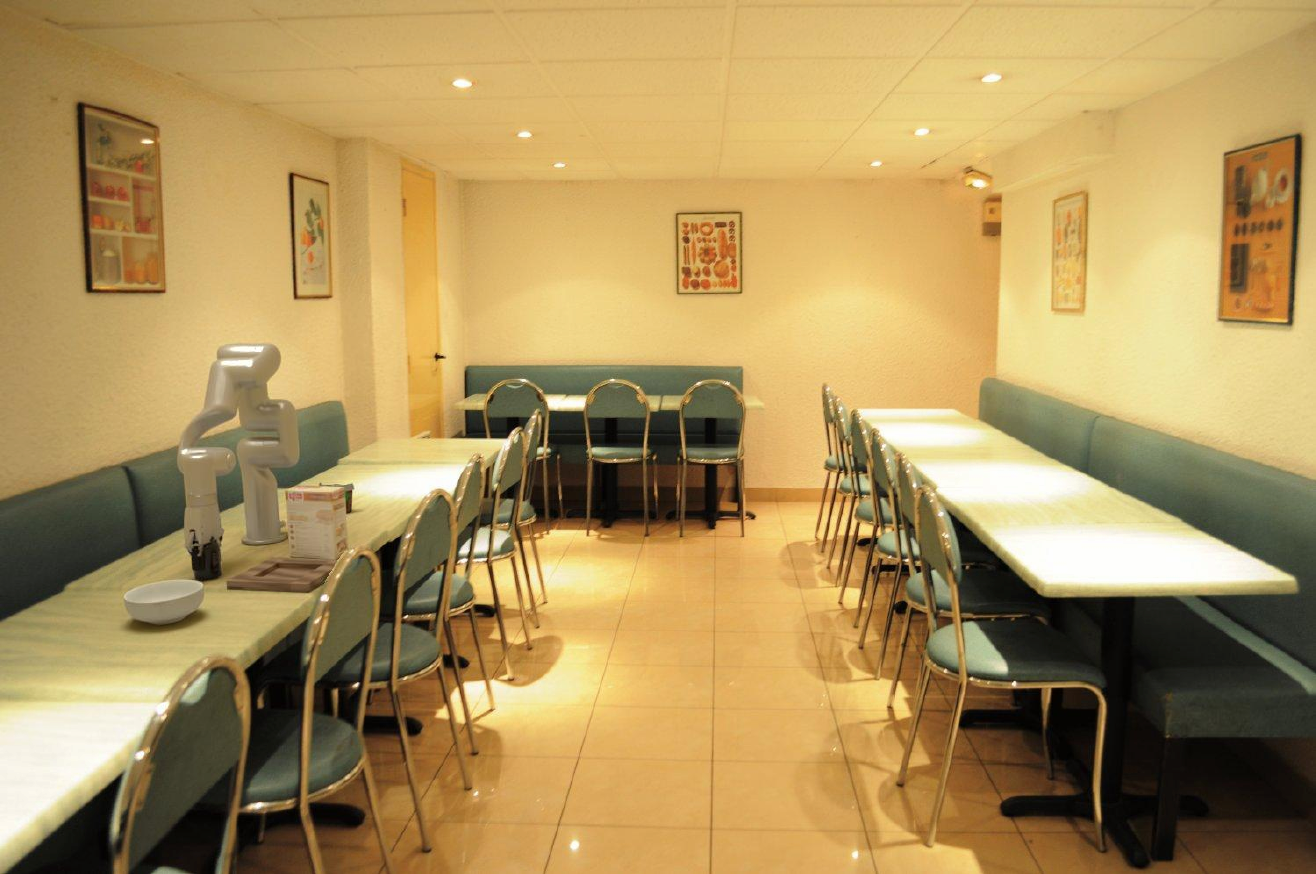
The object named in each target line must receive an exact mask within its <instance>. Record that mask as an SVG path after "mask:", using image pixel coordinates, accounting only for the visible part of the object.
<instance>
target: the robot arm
mask: <svg viewBox="0 0 1316 874" xmlns="http://www.w3.org/2000/svg"><path fill="white" fill-rule="evenodd" d="M216 359H217V360H215V361H213V362H212V364H211V366H210V369H209V374H208V380H207V385H206V391H205V398H204V404H203V408H202V409H201V411H200V412H199V413H198V414H197V415H195V416H194V417H193V418H192V419H191V421H189V423H188V424H187V425H186V427H184V428H185V429H184V430H183V431H182V434H181V436H180V438H179V443H178V450H177V456H176V457H177V458H176V464H177V468H178V470H179V471H180V473H182V474H183V481H184V493H185V504H186V505H185V506H186V507H185V508H184V516H183V517H184V518H183V519H184V520H183V522H184V523H183V524H184V526H183V528H184V529H183V531H184V544H183V545H184V548H185V549H186V550H187V552H188V553H189V556H190V559H191V569H192V571H193V572H194V571H203V570H205V566H204V555H202V551H203V546H204V545H205V544H207V543H209V542H211V541H209V540H210V539H211V536H212V535H214V537H215V539H214V541H216V542H217V543H218V544H219V547H220V557H221V558H222V552H221V551H222V550H221V548H222V541H223V536H224V533H225V529H224V528H223V526H222V519H221V512H220V508H219V501H218V489H217V478H216V477H221V476H223V477H224V476H226V475H229V474H230V473H232V472H233V470H234V469H235V467H236V465H237V461H238V463H239V468H240V471H241V472H240V473H241V478H242V481H241V482H242V491H243V493H242V495H243V506H244V516H245V517H244V518H245V528H246V529H245V531H246V533H245V535H243V536H242V537H240V538H241V540H240V541H241V543H242V544H245V545H249V546H250V545H251V546H257V545H258V546H259V545H261V546H262V545H269V544H270V545H271V544H276V543H280V542H282V541H284V540H286V538H287V533H285V532H283V531H282V528H284V527H285V526H286V525H287V522H286V521H285V520H280V506H279V495H278V494H279V493H278V482H277V479H276V476H275V474H273V472H272V471H271V468H272V469H273V468H285V469H287V468H292V467H295V466H296V465H297V464H298V463H299V460H300V454H301V453H300V440H299V426H298V417H297V410H296V408H295V405H294V404H293V403H292V402H291V401H289V400H288V399H285V398H284V399H283V398H281V399H279V398H277V399H272V398H271V399H270V398H269V393H268V392H269V391H268V382H269V381H270V379H272V377H273V376H274V375H275V374H276V373H277V372H278V370H279V368H280V366H281V361H282V354H281V352H280V349H279V348H278V347H277V345H274V344H272V343H242V342H241V343H228V344H224V345H221V346H219V347H218V348H217V351H216ZM237 414H238V419H239V424H240V426H241V428H242V429H243V430H244V431H247V432H256V433H259V432H260V433H261V432H263V433H264V432H267V433H268V432H272V433H273V432H276V433H277V435H249V436H246V437H243V438H241V439H240V440H239V441H238V443H237V446H236V454H235V453H234V451H233V450H232V449H230V448H228V447H222V446H220V447H212V446H211V447H208V446H204V447H202V446H201V447H197V446H198V443H199V441H200V438H202V436H203V435H205V434H206V433H207V432H208V431H210V430H212V429H213V428H216V427H218V426H220V425H222V424H224V423H227V422H229V421H231V420H233V419H234V418H235V417H236V416H237ZM236 457H237V458H236ZM196 542H199V543H198V544H196ZM195 547H199V548H198V550H197V549H196V548H195Z"/></svg>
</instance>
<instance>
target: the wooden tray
mask: <svg viewBox="0 0 1316 874" xmlns="http://www.w3.org/2000/svg"><path fill="white" fill-rule="evenodd" d="M337 560H338V559H336V560H330V559H317V558H303V557H270V558H268V559H266V560H264V561H262V562H260V563H259V564H256V565H254V566H253V567H251V568H249V569H246V570H245V571H243V572H240V573H239V574H238V575H235V576H233V577H232V578H229V579H228V580H226V581H225V583H226V590H234V591H235V590H237V591H240V590H241V591H261V592H278V593H279V592H280V593H281V592H283V593H285V592H286V593H287V592H288V593H305V594H307V593H310V592H312V591H313V590H315V589H316V588H318V587H320V586H322V585H323V584H324V581H325V580H326V579H327V577H328V576H329V573H330V572H331V571H332V569H333V568H334V566H335V564H336V563H337Z"/></svg>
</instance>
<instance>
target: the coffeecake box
mask: <svg viewBox="0 0 1316 874" xmlns="http://www.w3.org/2000/svg"><path fill="white" fill-rule="evenodd" d="M284 493H285V504H286V505H285V508H286V520H287V522H286V524H287V536H288V548H289V550H288V551H289V558H302V559H329V560H339V559H340V558H339V557H340V556H341V555H342V554H343V553H344V551H346V550H348V551H349V539H348V538H349V537H348V520H347V514H346V502H345V487H325V486H319V485H303V484H302V485H301V484H300V485H296V486H293V487H292V486H291V487H290V488H286V489H285V491H284Z"/></svg>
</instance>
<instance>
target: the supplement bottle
mask: <svg viewBox="0 0 1316 874" xmlns="http://www.w3.org/2000/svg"><path fill="white" fill-rule="evenodd" d="M214 539H215V537H214V535H212V536H211V539H210V540H209V541H211V542H209V543H207V544H205V545H204V546H203V551H202V555H204V566H205V570H203V571H193V579H194V580H195V581H199V582H202V581H204V580H206V581H212V580H216V579H218V578H220V577H221V576H222V575H223V568H222V556H221V557H220V549H221V547H219V544H218V543H217V542H216V541H214ZM198 543H199V542H196V544H198ZM195 548H196V549H197V550H198V548H199V547H195Z"/></svg>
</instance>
